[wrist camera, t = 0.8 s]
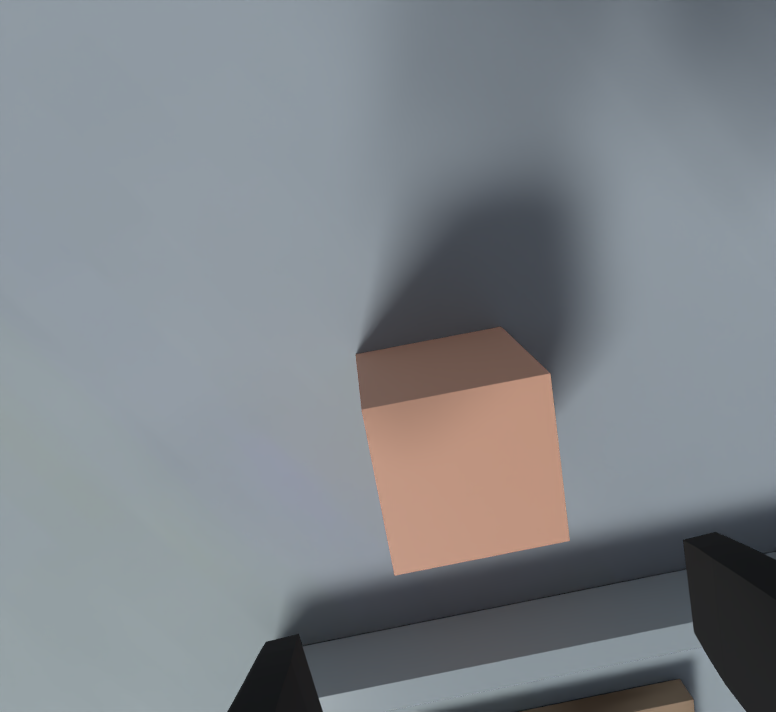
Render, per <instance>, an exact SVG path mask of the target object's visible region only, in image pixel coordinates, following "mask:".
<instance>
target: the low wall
mask: <svg viewBox="0 0 776 712" xmlns="http://www.w3.org/2000/svg"><path fill="white" fill-rule="evenodd" d="M765 555H767V556H769V557H771V558H773V559H776V552H771V553H766V554H765ZM697 648H702V645H701V644H700V642H699V640H698V639H697V637H696V635H695V634H694V629H693V620H692V612H691V603H690V595H689V586H688V578H687V570H682V571H677V572H672V573H667V574H662V575H657V576H652V577H647V578H642V579H637V580H632V581H627V582H622V583H617V584H612V585H607V586H602V587H597V588H592V589H587V590H582V591H577V592H572V593H567V594H562V595H557V596H552V597H547V598H542V599H537V600H532V601H527V602H522V603H517V604H512V605H507V606H502V607H497V608H492V609H487V610H482V611H477V612H472V613H467V614H462V615H457V616H452V617H447V618H442V619H437V620H432V621H427V622H422V623H417V624H412V625H407V626H402V627H397V628H392V629H387V630H382V631H377V632H372V633H367V634H362V635H357V636H352V637H347V638H342V639H337V640H332V641H327V642H322V643H317V644H312V645H307V646H303V650H304V653H305V656H306V659H307V662H308V666H309V669H310V672H311V675H312V678H313V682H314V685H315V688H316V691H317V694H318V697H319V701H320V704H321V707H322V710H323V712H387V711H392V710H397V709H402V708H407V707H412V706H417V705H421V704H426V703H431V702H436V701H441V700H446V699H451V698H456V697H461V696H466V695H471V694H476V693H480V692H485V691H490V690H495V689H500V688H505V687H510V686H515V685H520V684H525V683H530V682H535V681H539V680H544V679H549V678H554V677H559V676H564V675H569V674H574V673H579V672H584V671H589V670H593V669H598V668H603V667H608V666H613V665H618V664H623V663H628V662H633V661H638V660H643V659H648V658H652V657H657V656H662V655H667V654H672V653H677V652H682V651H687V650H692V649H697Z"/></svg>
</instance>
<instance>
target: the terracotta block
mask: <svg viewBox="0 0 776 712" xmlns="http://www.w3.org/2000/svg"><path fill="white" fill-rule="evenodd" d="M356 362H357V371H358V381H359V390H360V399H361V409H362V414H363V419H364V424H365V429H366V434H367V439H368V444H369V449H370V454H371V459H372V464H373V469H374V474H375V479H376V484H377V489H378V494H379V499H380V504H381V510H382V515H383V520H384V525H385V530H386V535H387V540H388V545H389V550H390V555H391V560H392V565H393V570H394V575H400V574H405V573H410V572H416V571H421V570H426V569H431V568H436V567H441V566H446V565H451V564H456V563H461V562H466V561H471V560H476V559H481V558H486V557H491V556H496V555H501V554H506V553H511V552H516V551H521V550H526V549H531V548H536V547H541V546H547V545H552V544H557V543H562V542H567V541H570V539H569V530H568V521H567V513H566V504H565V495H564V487H563V478H562V469H561V461H560V452H559V443H558V435H557V426H556V417H555V409H554V400H553V391H552V383H551V374H550V373H549V372H548V371H547V370H546V369H545V368H544V367H543V366H542V365H541V364H540V363H539V362H538V361H537V360H536V359H535V358H534V357H533V356H532V355H531V354H529V353H528V352H527V351H526V350H525V349H524V348H523V347H522V346H521V345H520V344H519V343H518V342H517V341H516V340H515V339H514V338H513V337H512V336H511V335H509V334H508V333H507V332H506V331H505V330H504V329H503V328H502V327H496V328H491V329H486V330H480V331H475V332H470V333H465V334H459V335H454V336H449V337H444V338H438V339H433V340H428V341H423V342H417V343H412V344H407V345H402V346H396V347H391V348H386V349H381V350H375V351H370V352H365V353H360V354H356Z"/></svg>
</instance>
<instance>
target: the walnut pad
mask: <svg viewBox="0 0 776 712" xmlns="http://www.w3.org/2000/svg"><path fill="white" fill-rule="evenodd" d="M520 712H694V699H693V698H692V696H691V695H690V694H689V692H688V691H687V689H686V688H685V686H684V685H683V683H682V682H681V680H680V679H676V680H672V681H667V682H662V683H657V684H652V685H647V686H642V687H637V688H632V689H628V690H623V691H618V692H613V693H608V694H603V695H598V696H593V697H588V698H584V699H579V700H574V701H569V702H564V703H559V704H554V705H549V706H544V707H540V708H535V709H530V710H525V711H520Z"/></svg>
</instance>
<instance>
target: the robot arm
mask: <svg viewBox="0 0 776 712" xmlns="http://www.w3.org/2000/svg"><path fill="white" fill-rule="evenodd" d="M683 544H684V552H685V561H686V569H687V578H688V586H689V595H690V603H691V612H692V620H693V629H694V634H695V635H696V637H697V639H698V640H699V642H700V644H701V645H702V647H703V649H704V651H705V652H706V654H707V656H708V657H709V659H710V661H711V662H712V664H713V665H714V667H715V669H716V670H717V672H718V673H719V675H720V677H721V678H722V680H723V681H724V683H725V685H726V686H727V687H728V688H729V690H730V691H731V692H732V694H733V695H734V696H735V698H736V699H737V700H738V701H739V703H740V704H741V705H742V707H743V708H744V709H745V710H746V712H776V559H773V558H771V557H769V556H767V555H765V554H763V553H761V552H759V551H757V550H754V549H752V548H750V547H748V546H746V545H744V544H742V543H739V542H737V541H735V540H733V539H731V538H728V537H726V536H724V535H721V534H719V533H717V532H713V533H709V534H705V535H701V536H697V537H693V538H689V539H685V540H683ZM227 712H323V710H322V707H321V704H320V701H319V697H318V694H317V691H316V688H315V685H314V682H313V678H312V675H311V672H310V669H309V666H308V662H307V659H306V656H305V653H304V650H303V646H302V643H301V640H300V637H299V634H297V635H292V636H288V637H284V638H280V639H276V640H272V641H268V642H266V643H265V644H264V646H263V647H262V649H261V651H260V653H259V654H258V656H257V658H256V660H255V662H254V664H253V666H252V668H251V669H250V671H249V673H248V675H247V677H246V679H245V681H244V683H243V684H242V686H241V688H240V690H239V692H238V694H237V695H236V697H235V699H234V701H233V703H232V705H231V706H230V708H229V710H228V711H227Z"/></svg>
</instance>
